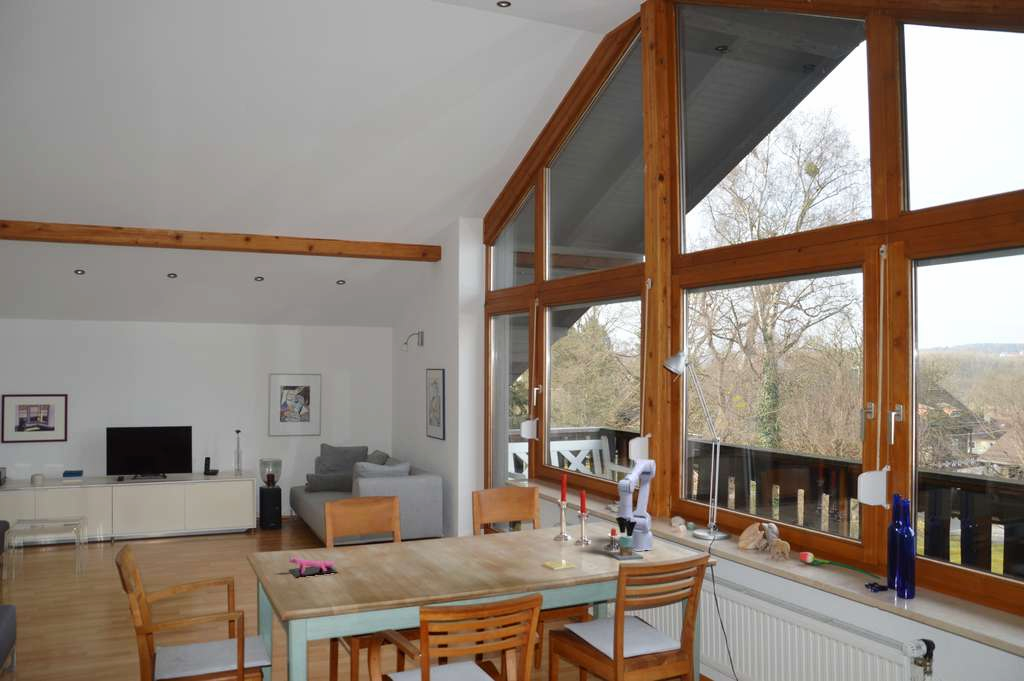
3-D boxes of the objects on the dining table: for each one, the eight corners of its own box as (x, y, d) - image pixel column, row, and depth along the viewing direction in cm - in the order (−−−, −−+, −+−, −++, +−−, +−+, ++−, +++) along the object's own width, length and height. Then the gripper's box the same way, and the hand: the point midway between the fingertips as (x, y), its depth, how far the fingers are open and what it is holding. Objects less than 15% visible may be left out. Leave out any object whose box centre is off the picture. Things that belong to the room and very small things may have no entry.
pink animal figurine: (285, 572, 359) (285, 555, 359) (331, 567, 368) (331, 550, 368) (292, 580, 346) (292, 562, 346) (339, 575, 355) (339, 558, 355)
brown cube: (628, 553, 392) (628, 544, 392) (632, 555, 388) (632, 546, 388) (619, 553, 391) (619, 545, 391) (623, 555, 386) (623, 547, 386)
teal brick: (628, 544, 392) (628, 536, 392) (632, 546, 388) (632, 538, 388) (619, 545, 391) (619, 536, 391) (623, 547, 386) (623, 538, 386)
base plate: (632, 553, 397) (632, 550, 397) (643, 558, 385) (643, 556, 385) (609, 554, 393) (609, 552, 393) (619, 560, 382) (619, 558, 382)
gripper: (611, 503, 396) (611, 531, 395) (624, 508, 382) (624, 538, 381) (625, 502, 398) (625, 531, 397) (638, 507, 384) (638, 537, 383)
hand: (626, 534), depth 389 cm, fingers open, 7 cm apart
